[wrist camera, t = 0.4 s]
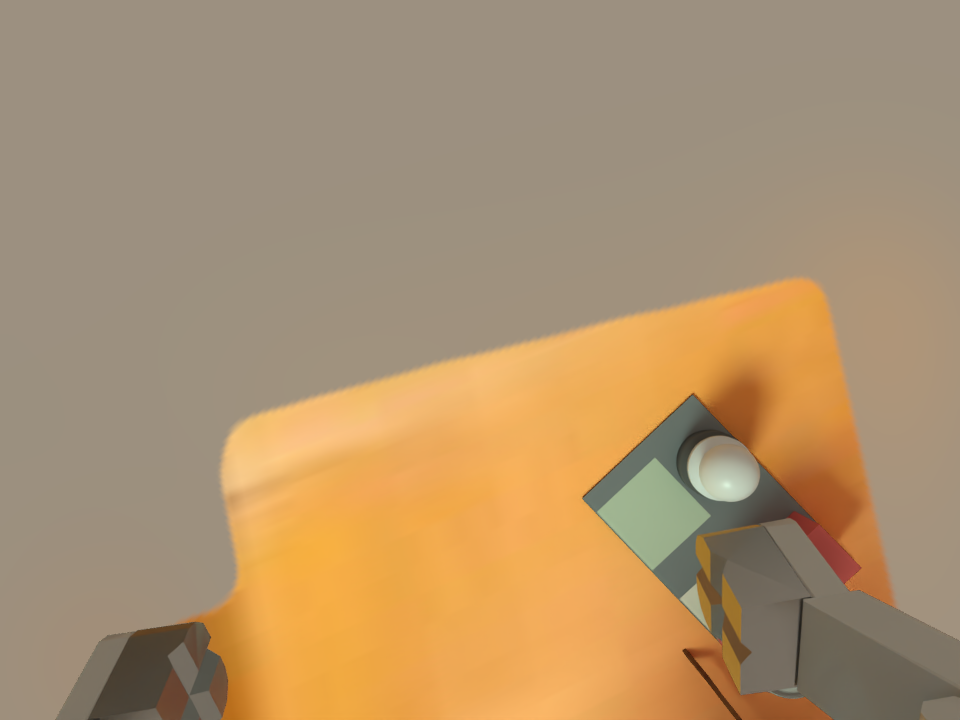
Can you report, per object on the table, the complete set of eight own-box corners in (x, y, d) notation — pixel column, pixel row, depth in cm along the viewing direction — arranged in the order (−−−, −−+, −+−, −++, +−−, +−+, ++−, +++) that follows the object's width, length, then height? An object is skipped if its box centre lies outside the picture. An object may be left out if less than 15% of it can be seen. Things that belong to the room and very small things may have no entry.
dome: (765, 468, 58) (789, 479, 53) (718, 512, 58) (737, 527, 53) (720, 422, 58) (739, 428, 53) (673, 466, 59) (688, 476, 54)
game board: (852, 560, 61) (864, 567, 59) (740, 664, 62) (747, 674, 60) (692, 394, 62) (698, 396, 60) (582, 498, 62) (584, 503, 60)
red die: (832, 550, 61) (862, 568, 56) (792, 587, 61) (817, 608, 56) (794, 510, 61) (819, 524, 56) (754, 548, 61) (775, 565, 56)
